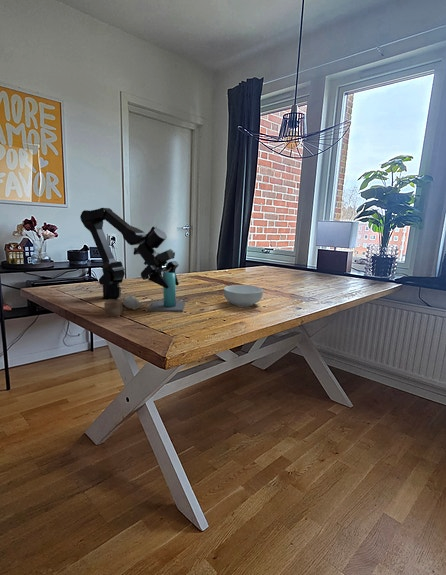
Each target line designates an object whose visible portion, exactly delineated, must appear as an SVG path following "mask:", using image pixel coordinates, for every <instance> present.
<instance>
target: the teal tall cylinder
mask: <svg viewBox="0 0 446 575" xmlns="http://www.w3.org/2000/svg"><path fill="white" fill-rule="evenodd" d="M175 273H176V272H175ZM175 273H172V272H167V273H163V272H162V276H163V278H164V280H165V281H166V283H167V284H168V286H169V288H168V289H166V288H164V287H162V288H163V289H162V292H163V295H162V296H163V301H164V306H165V307H174V306H176V300H177V299H176V298H177V296H176V295H177V294H176V291H177V290H176V288H177V287H176V286H177V285H175Z"/></svg>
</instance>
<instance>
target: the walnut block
mask: <svg viewBox="0 0 446 575" xmlns="http://www.w3.org/2000/svg"><path fill="white" fill-rule="evenodd" d="M103 304H104V317H120V316H121V315H122V314H123V311H124V310H123V299H106V300H105V302H104V303H103Z"/></svg>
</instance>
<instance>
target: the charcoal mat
mask: <svg viewBox="0 0 446 575" xmlns="http://www.w3.org/2000/svg"><path fill="white" fill-rule="evenodd" d="M185 306H186V301H178V300H177V301H176V306H174V307H165V306H164V300H153V302H152V303H151V304H150V306H149V307H148V309H147V310H148V312H170V313H172V312H173V313H174V312H179V313H183V312H184V309H185Z"/></svg>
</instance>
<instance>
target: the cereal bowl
mask: <svg viewBox="0 0 446 575" xmlns="http://www.w3.org/2000/svg"><path fill="white" fill-rule="evenodd" d="M223 295H224V298H225V300H226V301H227V302H229V303H230V304H233V305H234V306H236V307H242V308H244V307H245V308H247V307H251V306H252V305H255V304H258V303H259V302H260V301H261V300H262V298H263V295H264V290H263V288H262V287H259V286H255V285H249V284H247V285H246V284H237V285H236V284H233V285H227V286H225V287H224V288H223Z"/></svg>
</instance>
